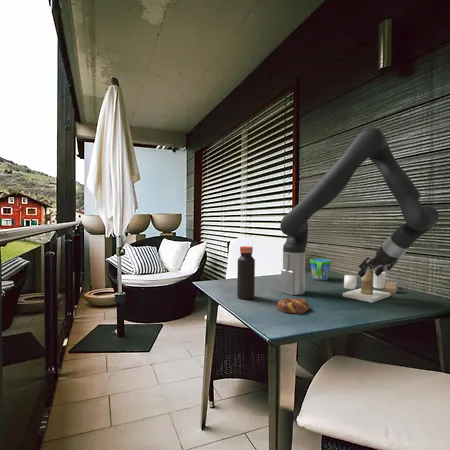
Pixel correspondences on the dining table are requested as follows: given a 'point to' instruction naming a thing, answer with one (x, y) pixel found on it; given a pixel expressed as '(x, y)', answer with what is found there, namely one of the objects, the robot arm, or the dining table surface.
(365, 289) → the pepper mill
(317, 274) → the snack cup
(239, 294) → the bottle
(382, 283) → the white tapered cylinder
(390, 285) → the wooden block
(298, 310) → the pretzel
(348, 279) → the white rounded cylinder
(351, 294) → the stone tile
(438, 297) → the dining table surface
